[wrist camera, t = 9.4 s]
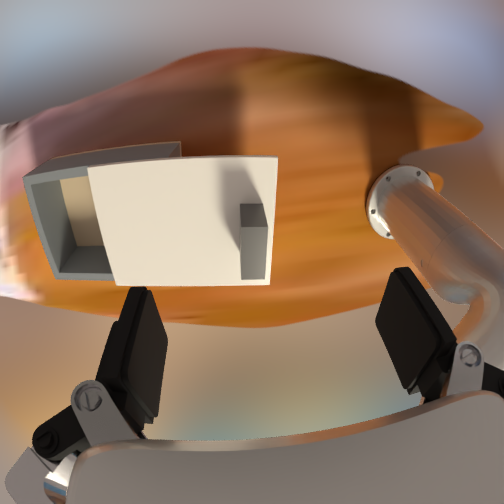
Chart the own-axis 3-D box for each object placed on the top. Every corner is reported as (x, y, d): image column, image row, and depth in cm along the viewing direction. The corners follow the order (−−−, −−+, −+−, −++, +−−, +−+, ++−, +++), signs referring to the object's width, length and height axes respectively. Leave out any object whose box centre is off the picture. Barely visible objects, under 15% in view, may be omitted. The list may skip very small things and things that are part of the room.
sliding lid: (276, 155, 28) (286, 173, 23) (268, 280, 37) (274, 313, 32) (90, 165, 27) (65, 185, 22) (118, 281, 36) (105, 312, 31)
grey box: (180, 140, 34) (167, 157, 27) (189, 246, 43) (182, 280, 36) (52, 157, 33) (22, 177, 26) (76, 249, 42) (55, 279, 35)
